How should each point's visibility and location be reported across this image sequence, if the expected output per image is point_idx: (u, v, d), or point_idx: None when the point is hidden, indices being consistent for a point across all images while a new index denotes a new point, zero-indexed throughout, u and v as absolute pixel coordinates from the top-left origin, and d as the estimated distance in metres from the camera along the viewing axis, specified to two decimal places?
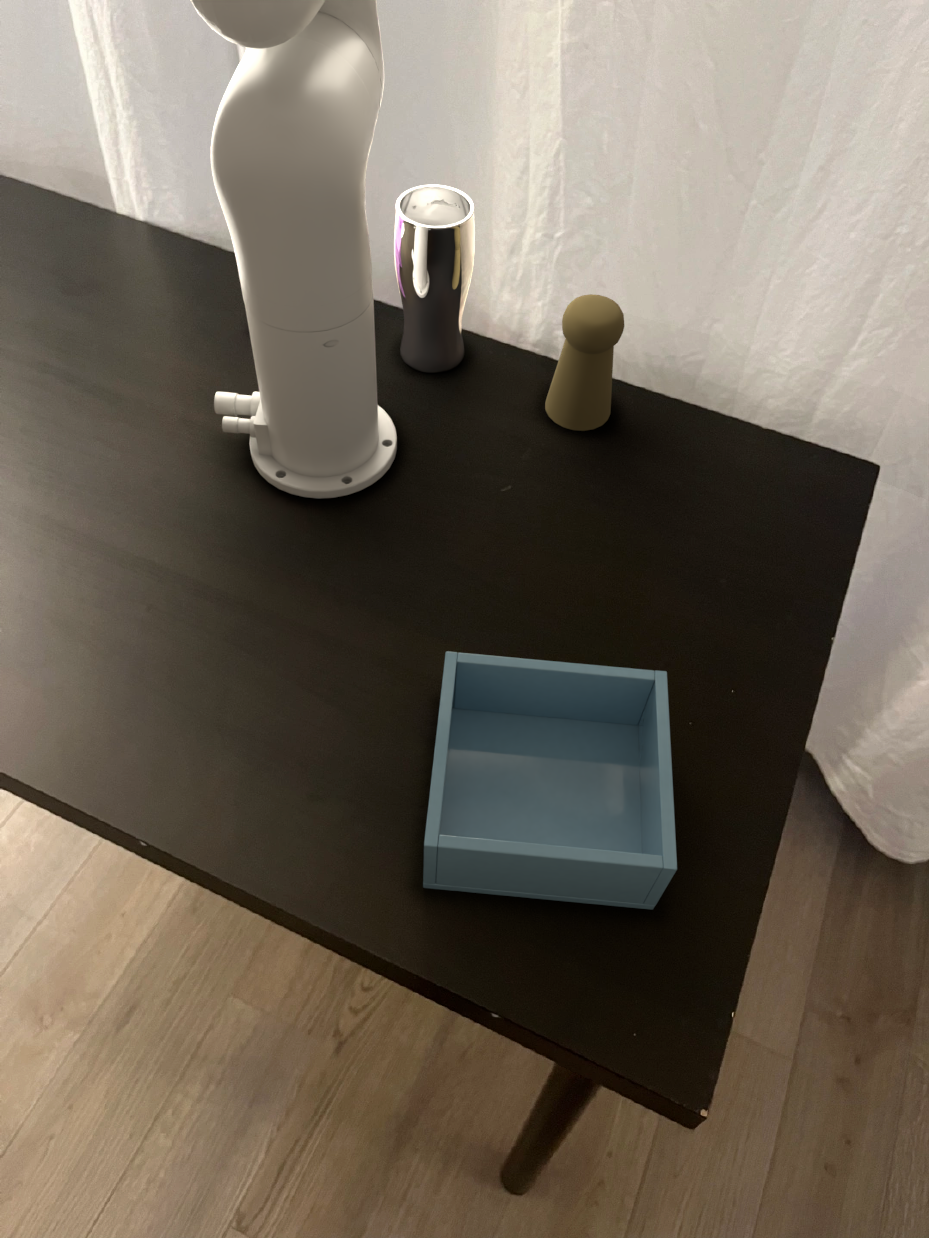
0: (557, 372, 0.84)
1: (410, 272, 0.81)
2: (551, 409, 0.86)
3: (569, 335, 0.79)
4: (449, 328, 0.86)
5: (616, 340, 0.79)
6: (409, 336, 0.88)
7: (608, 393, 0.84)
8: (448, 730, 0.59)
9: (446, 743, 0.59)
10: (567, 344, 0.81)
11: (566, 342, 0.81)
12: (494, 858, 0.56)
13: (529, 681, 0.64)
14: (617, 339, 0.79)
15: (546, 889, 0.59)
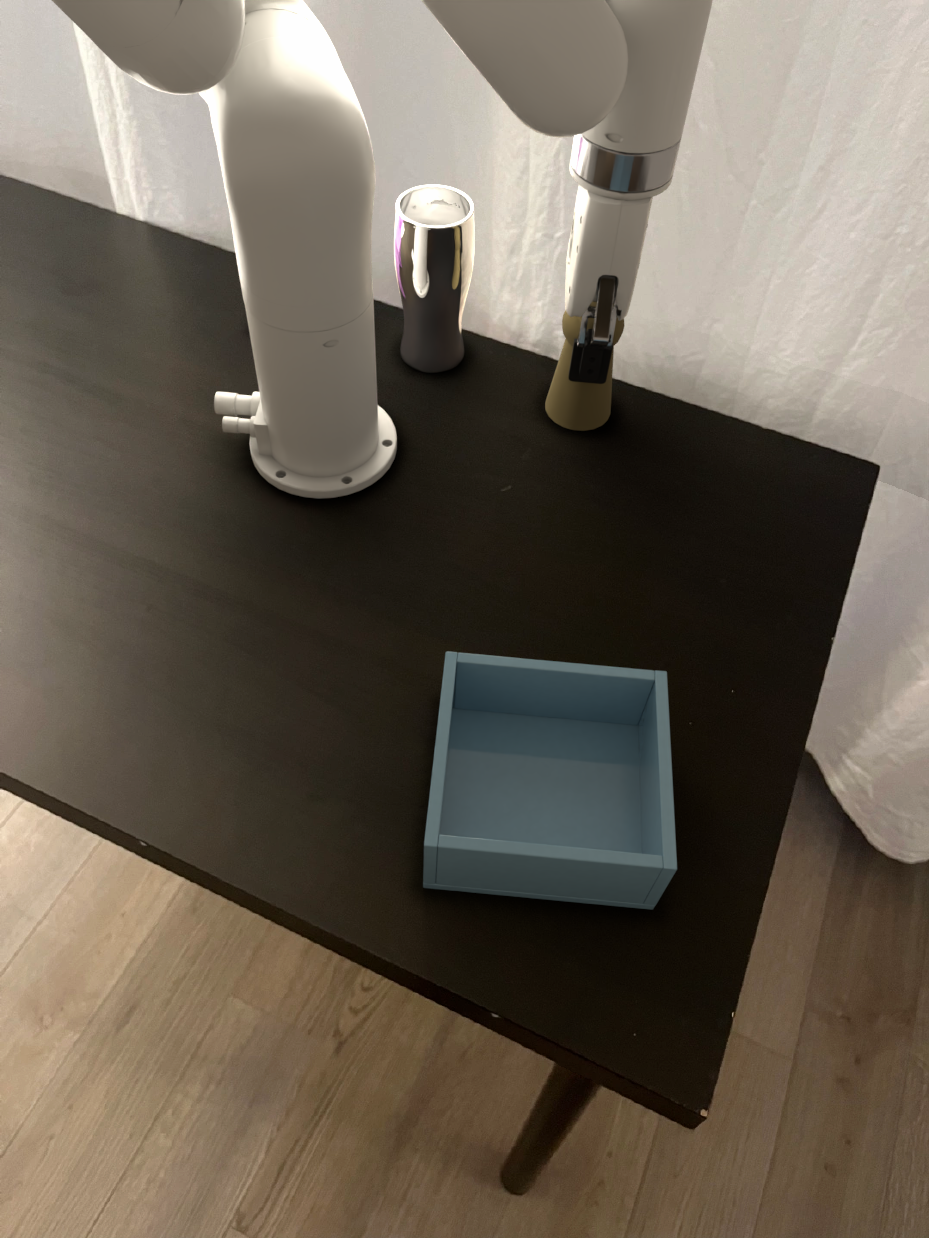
0: (557, 372, 0.84)
1: (410, 272, 0.81)
2: (551, 409, 0.86)
3: (570, 335, 0.79)
4: (449, 328, 0.86)
5: (616, 340, 0.79)
6: (409, 336, 0.88)
7: (608, 393, 0.84)
8: (448, 730, 0.59)
9: (446, 743, 0.59)
10: (567, 344, 0.81)
11: (566, 342, 0.81)
12: (494, 858, 0.56)
13: (529, 681, 0.64)
14: (617, 339, 0.79)
15: (546, 889, 0.59)
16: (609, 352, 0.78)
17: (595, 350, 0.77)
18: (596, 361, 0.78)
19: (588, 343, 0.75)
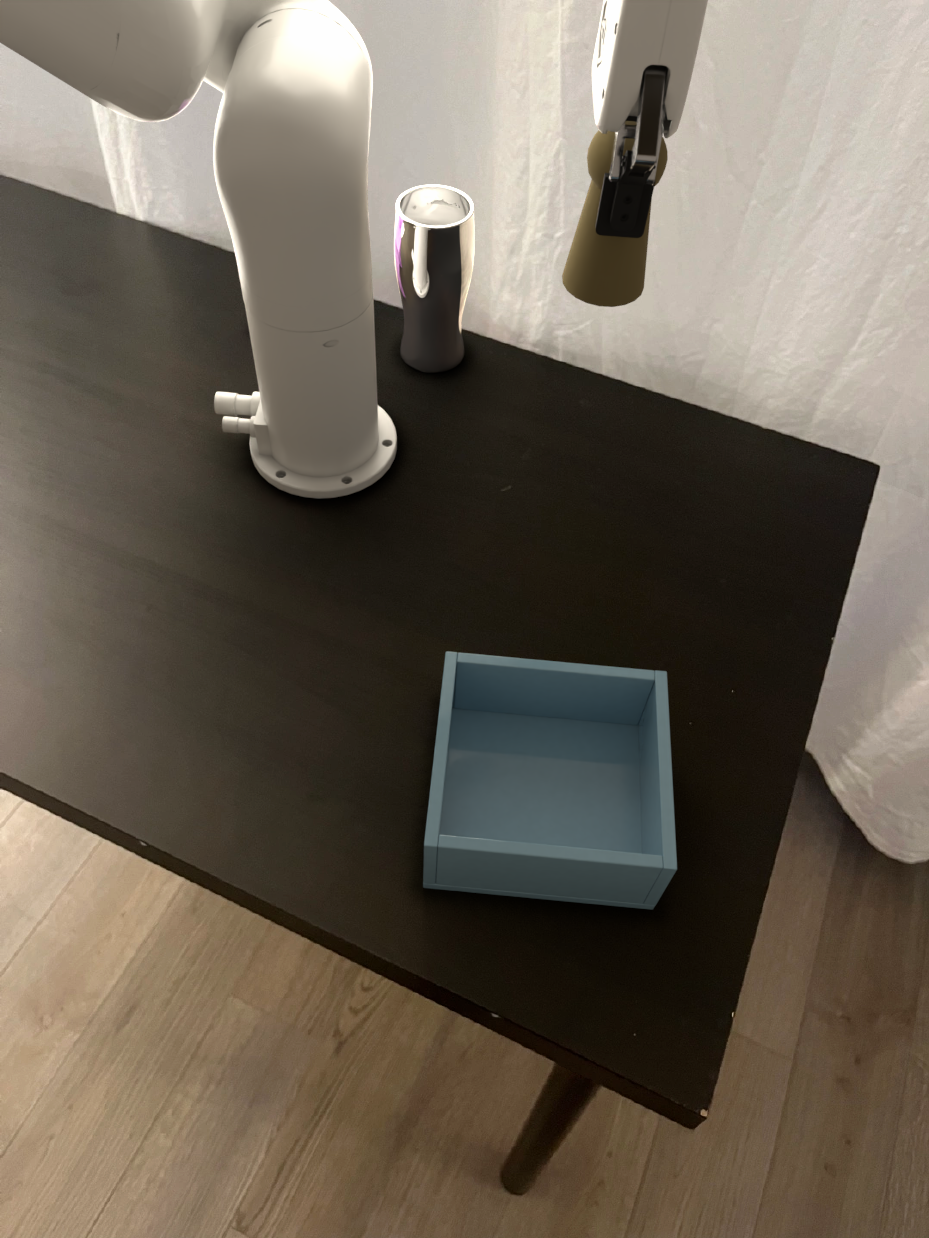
0: (579, 229, 0.66)
1: (410, 272, 0.81)
2: (571, 281, 0.68)
3: (598, 170, 0.61)
4: (449, 328, 0.86)
5: (658, 177, 0.62)
6: (409, 336, 0.88)
7: (643, 257, 0.67)
8: (448, 730, 0.59)
9: (446, 743, 0.59)
10: (593, 188, 0.64)
11: (592, 185, 0.64)
12: (494, 858, 0.56)
13: (529, 681, 0.64)
14: (659, 176, 0.62)
15: (546, 889, 0.59)
16: (650, 191, 0.61)
17: (632, 186, 0.60)
18: (633, 202, 0.61)
19: (626, 170, 0.57)
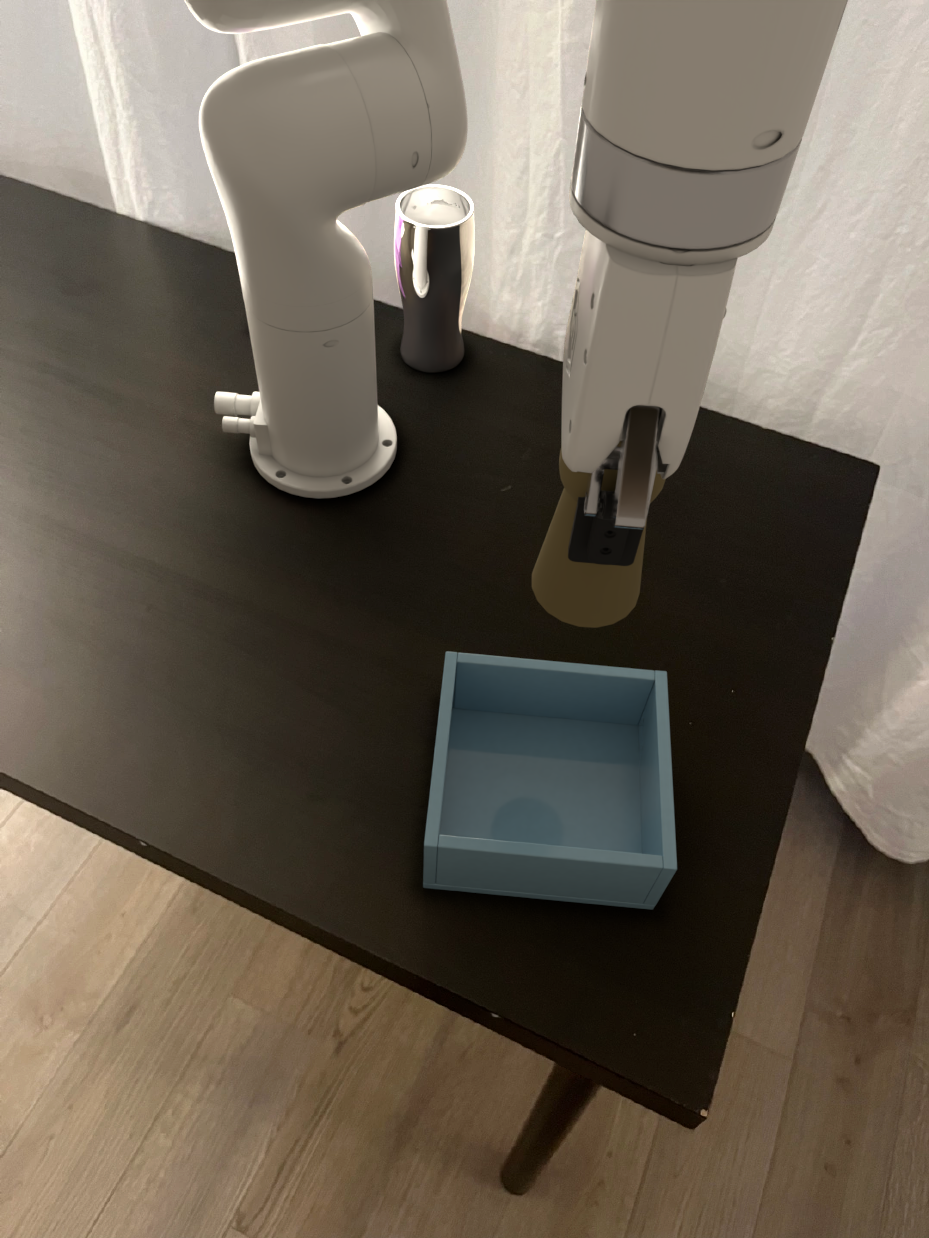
0: (551, 536, 0.49)
1: (410, 272, 0.81)
2: (541, 591, 0.51)
3: (573, 486, 0.45)
4: (449, 328, 0.86)
5: (655, 495, 0.45)
6: (409, 336, 0.88)
7: (638, 569, 0.50)
8: (448, 730, 0.59)
9: (446, 743, 0.59)
10: (568, 496, 0.47)
11: (566, 492, 0.47)
12: (494, 858, 0.56)
13: (529, 681, 0.64)
14: (657, 493, 0.45)
15: (546, 889, 0.59)
16: None
17: None
18: (618, 536, 0.44)
19: (605, 518, 0.40)
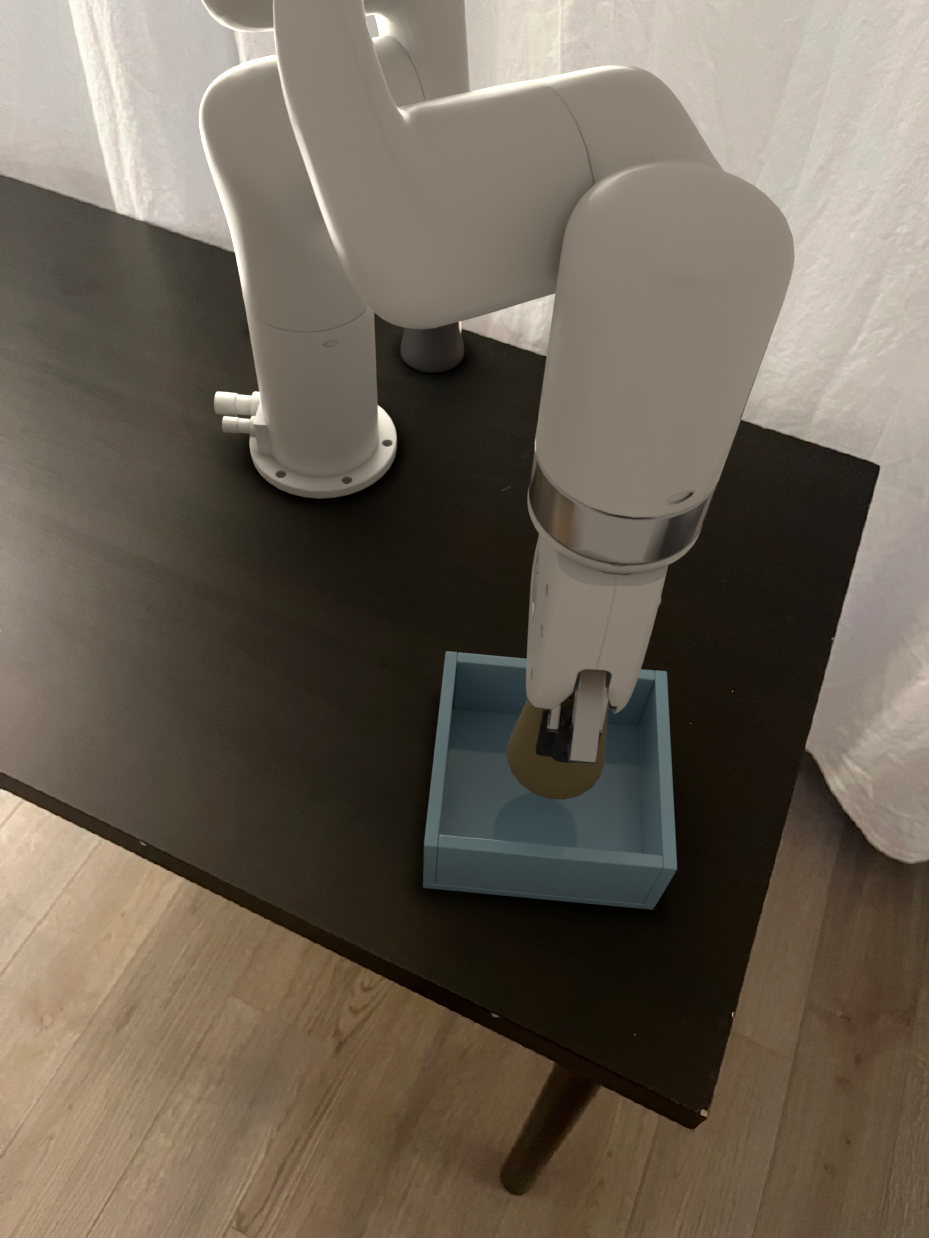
0: (523, 724, 0.55)
1: None
2: (515, 766, 0.57)
3: None
4: (449, 328, 0.86)
5: None
6: (409, 336, 0.88)
7: (600, 751, 0.56)
8: (448, 730, 0.59)
9: (446, 743, 0.59)
10: None
11: None
12: (494, 858, 0.56)
13: None
14: None
15: (546, 889, 0.59)
16: None
17: None
18: None
19: (563, 743, 0.46)
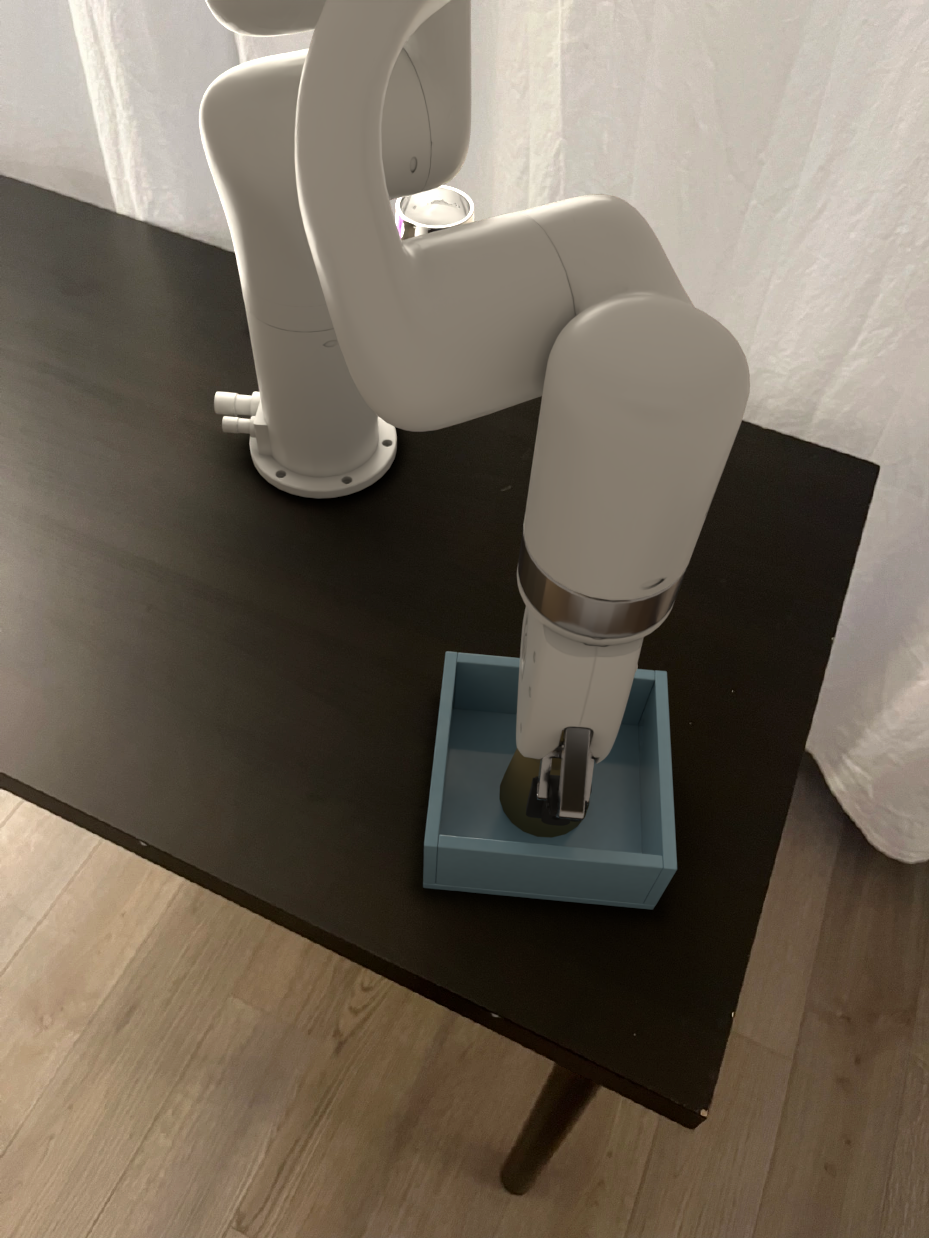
0: (513, 769, 0.60)
1: None
2: (507, 806, 0.62)
3: None
4: None
5: None
6: None
7: None
8: (448, 730, 0.59)
9: (446, 743, 0.59)
10: None
11: None
12: (494, 858, 0.56)
13: None
14: None
15: (546, 889, 0.59)
16: None
17: None
18: None
19: (551, 814, 0.49)
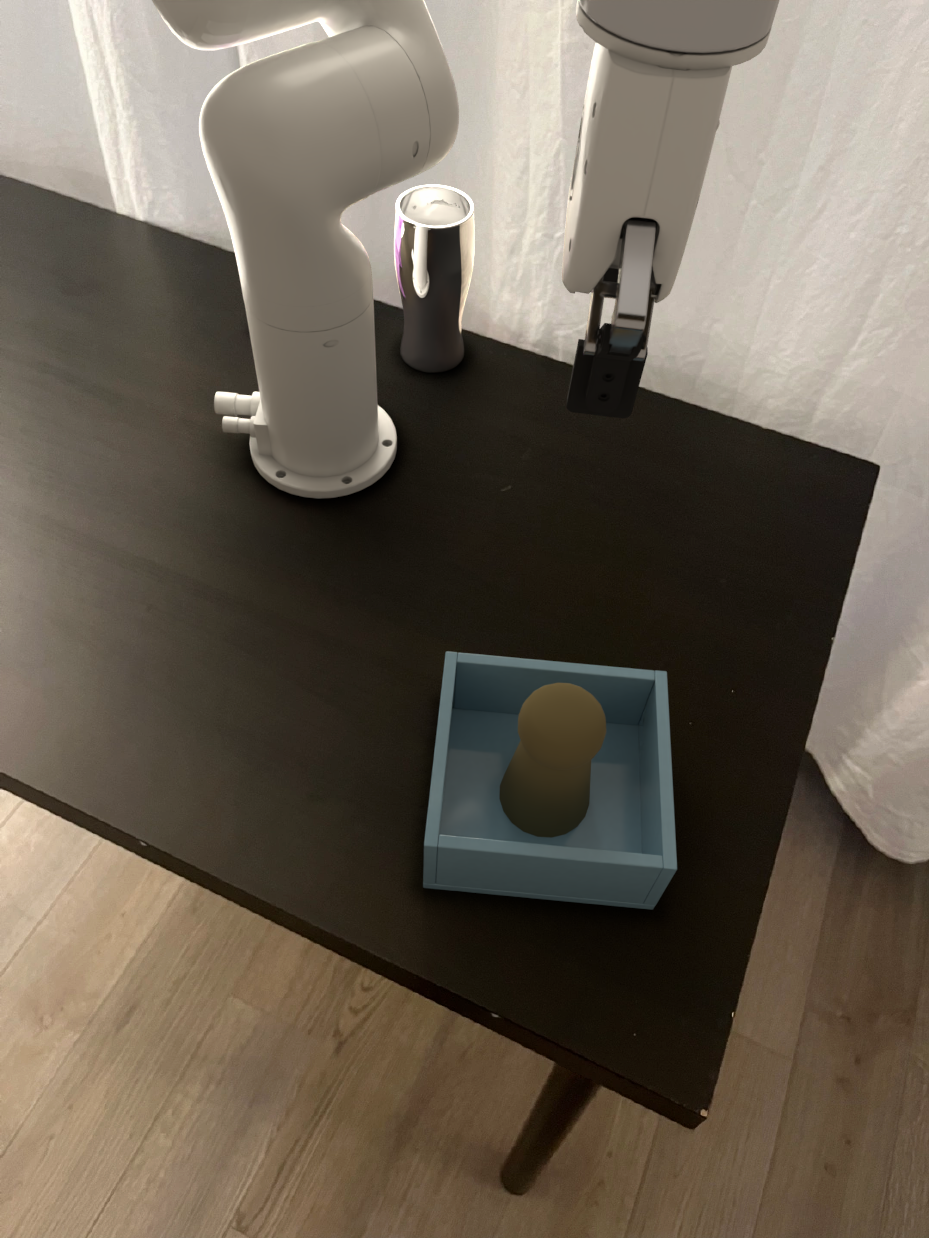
0: (513, 769, 0.60)
1: (410, 272, 0.81)
2: (507, 806, 0.62)
3: (528, 749, 0.55)
4: (449, 328, 0.86)
5: (594, 754, 0.55)
6: (409, 336, 0.88)
7: (585, 794, 0.60)
8: (448, 730, 0.59)
9: (446, 743, 0.59)
10: None
11: None
12: (494, 858, 0.56)
13: (529, 681, 0.64)
14: (596, 753, 0.55)
15: (546, 889, 0.59)
16: (640, 366, 0.44)
17: (615, 361, 0.43)
18: (616, 380, 0.44)
19: (603, 350, 0.41)
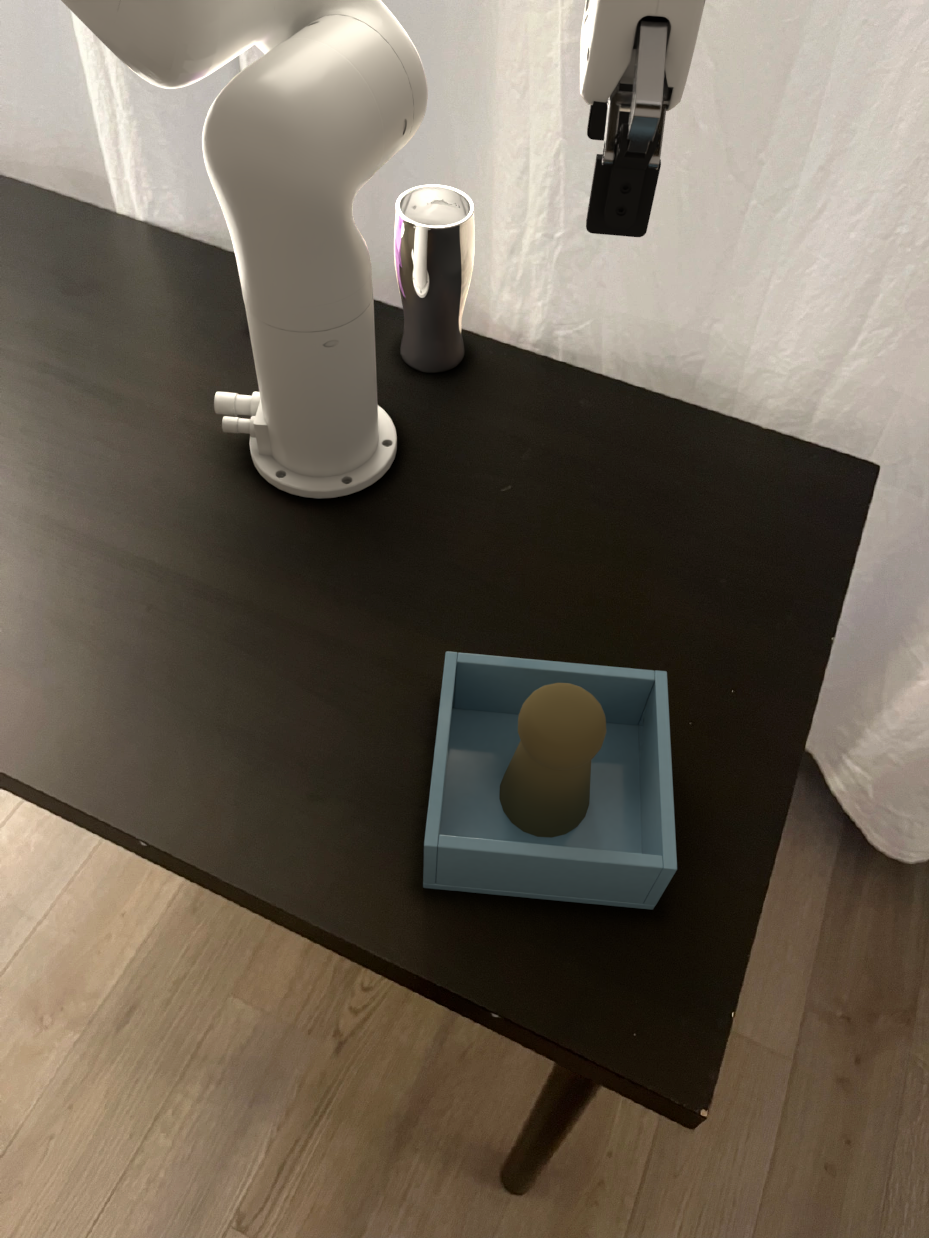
0: (513, 769, 0.60)
1: (410, 272, 0.81)
2: (507, 806, 0.62)
3: (528, 749, 0.55)
4: (449, 328, 0.86)
5: (594, 754, 0.55)
6: (409, 336, 0.88)
7: (585, 794, 0.60)
8: (448, 730, 0.59)
9: (446, 743, 0.59)
10: None
11: None
12: (494, 858, 0.56)
13: (529, 681, 0.64)
14: (596, 753, 0.55)
15: (546, 889, 0.59)
16: (654, 178, 0.48)
17: (631, 171, 0.47)
18: (632, 192, 0.48)
19: (622, 148, 0.44)
